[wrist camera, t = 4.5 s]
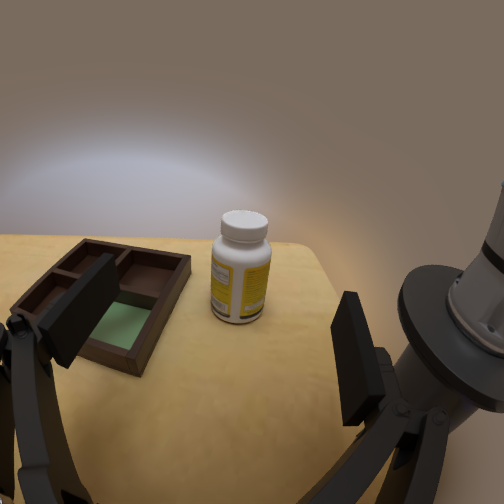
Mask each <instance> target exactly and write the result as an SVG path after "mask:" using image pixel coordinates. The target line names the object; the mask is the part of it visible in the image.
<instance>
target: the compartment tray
mask: <svg viewBox="0 0 504 504" xmlns="http://www.w3.org/2000/svg"><path fill="white" fill-rule="evenodd" d="M103 253H108V254H114V256H115V262H116V268H117V274H118V280H119V285H120V290H121V293H120V294H119V295H118V297H117V298H116V299H115V301H114V302H113V303H112V305H111V306H110V307H109V309H108V310H107V312H106V313H105V314H104V316H103V317H102V319H101V320H100V321H99V323H98V324H97V326H96V327H95V329H94V330H93V332H92V333H91V334H90V336H89V337H88V339H87V340H86V342H85V343H84V345H83V346H82V348H81V349H80V351H79V352H78V354H77V355H79V356H81V357H84V358H86V359H89V360H91V361H94V362H97V363H99V364H102V365H105V366H108V367H110V368H113V369H116V370H119V371H122V372H125V373H128V374H132V375H135V376H138V377H141V375H142V373H143V371H144V369H145V367H146V364H147V362H148V360H149V358H150V356H151V353H152V351H153V349H154V347H155V345H156V343H157V341H158V339H159V336H160V334H161V332H162V330H163V328H164V326H165V324H166V322H167V320H168V318H169V316H170V314H171V312H172V310H173V308H174V306H175V303H176V301H177V299H178V297H179V295H180V293H181V291H182V290H183V288H184V286H185V284H186V282H187V280H188V278H189V276H190V274H191V255H184V254H178V253H172V252H166V251H159V250H153V249H147V248H141V247H134V246H128V245H122V244H116V243H110V242H104V241H98V240H92V239H83V240H82V241H81V242H80V243H78V244H77V245H76V246H75V247H74V248H73V249H71V250H70V251H69V252H68V253H67V254H66V255H65V256H63V257H62V258H61V259H60V260H59V261H58V262H57V263H56V264H54V265H53V266H52V267H51V268H50V269H49V270H48V271H47V272H46V273H45V274H44V275H43V276H42V277H41V278H40V279H38V280H37V281H36V282H35V283H34V284H33V285H32V286H31V287H30V288H29V289H28V290H27V291H26V292H25V293H24V294H23V295H22V296H21V297H20V299H19V300H18V301H17V302H16V303H15V304H14V305H13V306H12V307H11V308H10V309H9V310H10V312H11V314H14V313H17V312H22V313H25V314H26V316H27V318H28V320H29V322H30V324H31V323H32V322H33V321H34V320H35V318H36V317H37V316H38V315H39V314H40V313H41V311H42V310H43V309H45V307H46V306H47V305H48V304H49V302H50V301H51V300H52V299H53V298H54V297H55V296H57V295H58V294H60V293H61V292H64V293H65V292H66V291H67V290H68V289H69V288H70V287H71V286H72V285H73V284H74V283H75V282H76V280H77V279H78V278H79V277H80V276H81V275H82V274H83V273H84V272H85V271H86V270H87V269H88V268H89V267H90V266H91V265H92V264H93V263H94V262H95V261H96V260H97V259H98V258H99V257H100V256H101V255H102V254H103Z"/></svg>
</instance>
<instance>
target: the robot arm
mask: <svg viewBox="0 0 504 504" xmlns="http://www.w3.org/2000/svg"><path fill="white" fill-rule="evenodd" d="M457 277H458V278H457ZM457 277H456V278H457V279H456V280H455V281H454V283H453V284H452V286H451V287H450V289H449V291H448V293H447V295H446V299H445V302H446V308H447V311H448V313H449V315H450V317H451V319H452V321H453V322H454V324H455V325H456V326H457V328H458V329H459V330H460V331H461V333H462V334H463V335H464V336H465V337H466V338H467V339H468V340H469V341H470V342H471V343H473V344H474V345H475V346H476V347H478V348H479V349H481V350H482V351H484V352H486V353H487V354H489V355H492V356H494V357H497V358H502V359H504V181H503V182H502V190H501V194H500V197H499V201H498V204H497V208H496V211H495V214H494V217H493V220H492V223H491V225H490V228H489V231H488V233H487V236H486V238H485V241H484V243H483V246H482V248H481V251H480V253H479V254H478V256H477V257H476V258H475V259H474V260H473V262H472V263H471V264H470V265H469V266H468V267H467V268H466V270H465V271H464V272H461V273H460V274H459V275H458V276H457ZM120 293H121V290H120V285H119V280H118V274H117V268H116V262H115V256H114V254H108V253H103V254H102V255H101V256H100V257H99V258H98V259H97V260H96V261H95V262H94V263H93V264H92V265H91V266H90V267H89V268H88V269H87V270H86V271H85V272H84V273H83V274H82V275H81V276H80V277H79V278H78V279H77V280H76V282H75V283H74V284H73V285H72V286H71V287H70V288H69V289H68V290H67V291H66V292H65V293H64V292H61V293H60V294H58V295H57V296H55V297H54V298H53V299H52V300H51V301H50V302H49V304H48V305H47V306H46V307H45V309H43V310H42V311H41V313H40V314H39V315H38V316H37V317H36V318H35V320H34V321H33V322H32V323H31V324H30V322H29V320H28V318H27V316H26V314H25V313H22V312H17V313H14V314H12V315H11V316H10V317H9V318H8V319H7V322H6V325H7V327H8V329H9V330H6V329H5V327H4V325H3V324H2V323H0V362H1V360H2V365H0V504H14V502H13V501H14V490H15V480H14V433H15V429H16V436H17V442H18V448H19V453H20V458H21V462H22V467H21V468H20V469H19V470H18V473H17V474H18V480H19V483H20V487H21V490H22V494H23V497H24V500H25V503H26V504H94V503H93V501H92V499H91V497H90V495H89V493H88V491H87V490H86V488H85V487H84V486H83V485H82V483H81V481H80V479H79V477H78V474H77V471H76V468H75V466H74V463H73V460H72V456H71V453H70V450H69V447H68V443H67V440H66V436H65V432H64V428H63V424H62V420H61V415H60V411H59V406H58V401H57V395H56V390H55V383H54V376H53V369H52V364H51V362H50V360H51V359H52V357H53V358H54V359H55V361H56V363H57V364H58V365H60V366H62V367H64V368H66V369H68V368H69V366H70V365H71V363H72V362H73V360H74V359H75V357H76V356H77V354H78V352H79V351H80V349H81V348H82V346H83V345H84V343H85V342H86V340H87V339H88V337H89V336H90V334H91V333H92V332H93V330H94V329H95V327H96V326H97V324H98V323H99V321H100V320H101V319H102V317H103V316H104V314H105V313H106V312H107V310H108V309H109V307H110V306H111V305H112V303H113V302H114V301H115V299H116V298H117V297H118V295H119V294H120ZM330 328H331V335H332V341H333V348H334V354H335V361H336V369H337V376H338V384H339V393H340V401H341V411H342V421H343V426H359V425H360V424H361V423H362V422H363V421H364V424H365V428H364V429H363V430H362V431H361V432H360V433H359V434H358V435H356V437H357V438H356V439H355V440H354V441H353V443H352V444H351V445H350V446H349V448H348V449H347V450H346V451H345V453H344V454H343V455H342V456H341V457H340V459H339V460H338V461H337V462H336V463H335V464H334V465H333V467H332V468H331V469H330V470H329V471H328V472H327V473H326V474H325V475H324V476H323V477H322V479H321V480H320V481H319V482H318V483H317V484H316V485H315V486H314V487H313V488H312V489H311V490H310V491H309V492H308V493H307V494H306V495H305V496H304V497H303V498H302V499H300V500H299V501H298V502H297V503H296V504H355V503H356V502H357V501H358V500H359V498H360V497H361V496H362V494H363V493H364V492H365V491H366V489H367V488H368V487H369V485H370V484H371V483H372V481H373V480H374V478H375V477H376V476H377V474H378V473H379V471H380V470H381V468H382V467H383V465H384V464H385V462H386V461H387V459H388V458H389V456H390V455H391V453H392V451H393V450H394V448H395V447H396V448H395V451H394V454H393V457H392V460H391V463H390V466H389V469H388V472H387V475H386V477H385V480H384V482H383V485H382V487H381V490H380V492H379V495H378V497H377V499H376V502H375V504H433V501H434V498H435V494H436V491H437V487H438V483H439V479H440V475H441V471H442V466H443V461H444V456H445V451H446V445H447V439H448V432H449V424H450V419H449V415H448V413H447V412H446V411H445V410H444V409H443V408H441V407H433V408H431V409H430V410H429V411H428V412H425V411H420V410H416V409H413V408H412V407H411V405H410V403H409V402H408V401H406V400H405V399H403V398H402V396H401V392H400V389H399V385H398V381H397V378H396V374H395V373H394V368H393V366H392V361H391V358H390V355H389V354H388V352H387V351H386V350H385V348H383V347H374V345H373V341H372V338H371V335H370V331H369V328H368V325H367V321H366V318H365V315H364V312H363V309H362V306H361V303H360V299H359V296H358V294H357V292H351V291H344V293H343V296H342V299H341V301H340V304H339V306H338V309H337V311H336V314H335V317H334V319H333V322H332V324H331V327H330ZM97 504H98V503H97Z"/></svg>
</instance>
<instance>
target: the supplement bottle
mask: <svg viewBox="0 0 504 504" xmlns="http://www.w3.org/2000/svg"><path fill="white" fill-rule="evenodd" d="M267 228H268V220H267V218H266V217H265V216H263V215H261V214H259V213H256V212H252V211H246V210H235V211H229V212H227V213H225V214H224V215H223V216H222V220H221V234H222V235H220V236H219V237H217V238H216V239H215V241H214V243H213V246H212V263H211V308H212V310H213V312H214V313H215V314H216V315H217V316H218V317H219V318H220V319H222V320H224V321H227V322H231V323H246V322H250V321H253V320H254V319H256V318H257V317H258V316H259V315H260V314H261V312H262V310H263V306H264V300H265V294H266V288H267V281H268V275H269V269H270V262H271V254H272V250H271V246H270V244H269V243H268V241H267V240H266V239H265V237H266V235H267Z"/></svg>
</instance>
